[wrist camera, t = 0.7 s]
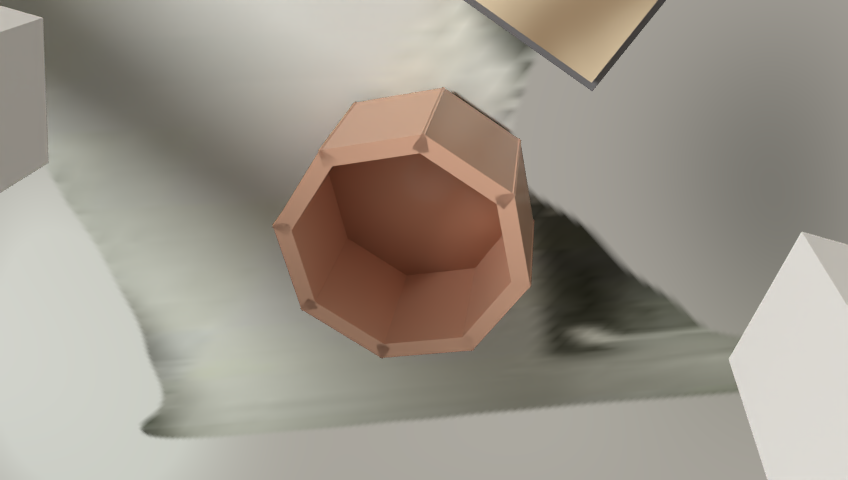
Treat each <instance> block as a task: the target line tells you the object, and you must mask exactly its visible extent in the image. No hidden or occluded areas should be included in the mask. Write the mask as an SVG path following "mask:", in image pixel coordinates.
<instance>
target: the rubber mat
mask: <svg viewBox="0 0 848 480" xmlns="http://www.w3.org/2000/svg"><path fill="white" fill-rule="evenodd" d="M464 1H465V2H467V3H468V4H470V5H471V6H473V7H474V8H475V9H477V10H478V11H480V12H481V13H482V14H484V15H485V16H487V17H488V18H489V19H491V20H492V21H494V22H495V23H497V24H498V25H499V26H501V27H502V28H504V29H505V30H506V31H508V32H509V33H511V34H512V35H513V36H515V37H516V38H518V39H519V40H521V41H522V42H523V43H525V44H526V45H528V46H529V47H530V48H532V49H533V50H535V51H536V52H538V53H539V54H540V55H542V56H543V57H545V58H546V59H547V60H549V61H550V62H552V63H553V64H554V65H556V66H557V67H559V68H560V69H562V70H563V71H564V72H566V73H567V74H569V75H570V76H571V77H573V78H574V79H576V80H577V81H578V82H580V83H581V84H583V85H584V86H586V87H587V88H588V89H590V90H591V91H593V90H594V88H595V87H596V86H597V85H598V83H599V82H600V81H601V80H602V78H603V77H604V76H605V75H606V74H607V72H608V71H609V70H610V68H611V67H612V66H613V65H614V64H615V62H616V61H617V60H618V59H619V57H620V56H621V55H622V54H623V53H624V51H625V50H626V49H627V48H628V46H629V45H630V44H631V43H632V41H633V40H634V39H635V38H636V37H637V35H638V34H639V33H640V31H641V30H642V29H643V28H644V27H645V25H646V24H647V23H648V22H649V20H650V19H651V18H652V17H653V15H654V14H655V13H656V12H657V11H658V9H659V8H660V7H661V6H662V4H663V3H664V2H665V1H666V0H658V1H657V2H656V3H655V4H654V6H653V7H652V8H651V9H650V11H649V12H648V13H647V14H646V16H645V17H644V18H643V19H642V21H641V22H640V23H639V24H638V26H637V27H636V28H635V29H634V31H633V32H632V33H631V34H630V36H629V37H628V38H627V39H626V41H625V42H624V43H623V44H622V46H621V47H620V48H619V49H618V51H617V52H616V53H615V54H614V55H613V57H612V58H611V59H610V60H609V62H608V63H607V64H606V65H605V67H604V68H603V69H602V70H601V72H600V73H599V74H598V75H597V77H596V78H595V79H594V80H593V82H592V83H591V82H590V81H588V80H587V79H586V78H584V77H583V76H581V75H580V74H578V73H577V72H576V71H574V70H573V69H571V68H570V67H569V66H567V65H566V64H564V63H563V62H562V61H560V60H559V59H557V58H556V57H555V56H553V55H552V54H550V53H549V52H547V51H546V50H545V49H543V48H542V47H540V46H539V45H538V44H536V43H535V42H533V41H532V40H531V39H529V38H528V37H526V36H525V35H524V34H522V33H521V32H519V31H518V30H516V29H515V28H514V27H512V26H511V25H509V24H508V23H507V22H505V21H504V20H502V19H501V18H500V17H498V16H497V15H495V14H494V13H493V12H491V11H490V10H488V9H487V8H485V7H484V6H483V5H481V4H480V3H478V2H477V1H476V0H464Z"/></svg>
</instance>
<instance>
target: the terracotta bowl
mask: <svg viewBox="0 0 848 480" xmlns="http://www.w3.org/2000/svg"><path fill="white" fill-rule="evenodd" d="M273 228H274V231H275V234H276V236H277V239H278V242H279V245H280V248H281V251H282V254H283V257H284V260H285V263H286V265H287V268H288V271H289V274H290V277H291V280H292V283H293V286H294V289H295V292H296V294H297V297H298V300H299V303H300V306H301V308H300V309H302V311H305V312H307V313H308V314H310V315H312V316H313V317H315V318H317V319H318V320H320V321H322V322H323V323H325V324H326V325H328V326H330V327H331V328H333V329H335V330H336V331H338V332H340V333H341V334H343V335H345V336H346V337H348V338H350V339H351V340H353V341H354V342H356V343H358V344H359V345H361V346H363V347H364V348H366V349H368V350H369V351H371V352H373V353H374V354H376V355H378V356H379V357H380V358H382V359H383V358H385V357H397V356H409V355H422V354H434V353H446V352H458V351H472V350H474V348H475V347H476V346H477V345H478V344H479V343H480V341H481V340H482V339H483V338H484V337H485V336H486V335H487V334H488V333H489V332H490V330H491V329H492V328H493V327H494V326H495V325H496V324H497V323H498V322H499V320H500V319H501V318H502V317H503V316H504V315H505V314H506V313H507V312H508V310H509V309H510V308H511V307H512V306H513V305H514V304H515V303H516V302H517V301H518V299H519V298H520V297H521V296H522V295H523V294H524V293H525V292H526V291H527V289H528V288H530V287H531V279H532V258H533V236H534V220H533V216H532V209H531V203H530V197H529V191H528V185H527V179H526V173H525V167H524V161H523V155H522V148H521V140H520V139H518V138H517V137H515V136H514V135H512V134H511V133H509V132H508V131H507V130H505V129H504V128H502V127H501V126H499V125H498V124H496V123H495V122H493V121H492V120H490V119H489V118H487V117H486V116H485V115H483V114H482V113H480V112H479V111H477V110H476V109H474V108H473V107H471V106H470V105H468V104H467V103H466V102H464V101H463V100H461V99H460V98H458V97H457V96H455V95H454V94H452V93H451V92H449V91H448V90H446V89H445V87H442V88H439V89H433V90H427V91H421V92H415V93H409V94H403V95H397V96H391V97H385V98H379V99H373V100H368V101H362V102H355V103H353V104H352V106H351V107H350V108H349V110H348V111H347V112H346V114H345V115H344V116H343V118H342V119H341V120H340V122H339V123H338V124H337V126H336V127H335V128H334V130H333V131H332V132H331V134H330V135H329V136H328V138H327V139H326V140H325V142H324V143H323V144H322V146H321V147H320V148H319V150H318V154H317V155H316V157H315V158H314V160H313V162H312V163H311V165H310V167H309V168H308V170H307V171H306V173H305V175H304V176H303V178H302V180H301V181H300V183H299V185H298V186H297V188H296V189H295V191H294V193H293V194H292V196H291V198H290V199H289V201H288V202H287V204H286V206H285V207H284V209H283V211H282V212H281V214H280V215H279V216H278V218H277V219H276V221H275V222H274V223H273Z"/></svg>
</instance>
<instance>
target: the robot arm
mask: <svg viewBox="0 0 848 480" xmlns="http://www.w3.org/2000/svg"><path fill="white" fill-rule="evenodd" d="M47 163H49V161H48V135H47V108H46V82H45V55H44V28H43V18H42V17H39V16H35V15H32V14H28V13H25V12H21V11H18V10H14V9H11V8H7V7H3V6H0V193H1V192H2V191H4V190H6V189H7V188H9V187H10V186H12V185H13V184H15V183H17V182H18V181H20V180H22V179H23V178H25V177H27V176H28V175H30V174H31V173H33V172H35V171H36V170H38V169H39V168H41V167H43V166H44V165H46V164H47ZM729 362H730V365H731V368H732V371H733V374H734V377H735V380H736V384H737V387H738V390H739V393H740V396H741V399H742V402H743V405H744V408H745V412H746V415H747V418H748V421H749V424H750V427H751V430H752V433H753V436H754V440H755V443H756V445H757V449H758V452H759V455H760V458H761V461H762V464H763V467H764V470H765V473H766V477H767V480H848V245H847V244H844V243H840V242H837V241H833V240H829V239H826V238H823V237H819V236H816V235H812V234H808V233H805V232H801V234H800V235H799V237H798V239H797V241H796V242H795V244H794V246H793V248H792V249H791V251H790V253H789V255H788V256H787V258H786V260H785V262H784V264H783V265H782V267H781V269H780V270H779V272H778V274H777V276H776V278H775V279H774V281H773V283H772V284H771V286H770V288H769V290H768V291H767V293H766V295H765V297H764V298H763V300H762V302H761V304H760V305H759V307H758V309H757V311H756V312H755V314H754V316H753V318H752V319H751V321H750V323H749V325H748V326H747V328H746V330H745V332H744V333H743V335H742V337H741V339H740V340H739V342H738V344H737V346H736V347H735V349H734V351H733V352H732V354H731V356H730V358H729Z"/></svg>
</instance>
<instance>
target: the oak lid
mask: <svg viewBox="0 0 848 480" xmlns="http://www.w3.org/2000/svg"><path fill="white" fill-rule="evenodd" d="M476 1H477V2H478V3H480V4H481V5H483V6H484V7H485V8H487V9H488V10H490V11H491V12H493V13H494V14H495V15H497V16H498V17H500V18H501V19H502V20H504V21H505V22H507V23H508V24H509V25H511V26H512V27H514V28H515V29H516V30H518V31H519V32H521V33H522V34H524V35H525V36H526V37H528V38H529V39H531V40H532V41H533V42H535V43H536V44H538V45H539V46H540V47H542V48H543V49H545V50H546V51H547V52H549V53H550V54H552V55H553V56H555V57H556V58H557V59H559V60H560V61H562V62H563V63H564V64H566V65H567V66H569V67H570V68H571V69H573V70H574V71H576V72H577V73H578V74H580V75H581V76H583V77H584V78H586V79H587V80H588V81H590V82H591V83H592V82H593V80H594V79H595V78H596V77H597V75H598V74H599V73H600V72H601V70H602V69H603V68H604V67H605V65H606V64H607V63H608V62H609V60H610V59H611V58H612V57H613V55H614V54H615V53H616V52H617V51H618V49H619V48H620V47H621V46H622V44H623V43H624V42H625V41H626V39H627V38H628V37H629V36H630V34H631V33H632V32H633V31H634V29H635V28H636V27H637V26H638V24H639V23H640V22H641V21H642V19H643V18H644V17H645V16H646V14H647V13H648V12H649V11H650V9H651V8H652V7H653V6H654V4H655V3H656V2H657V1H658V0H476Z"/></svg>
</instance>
